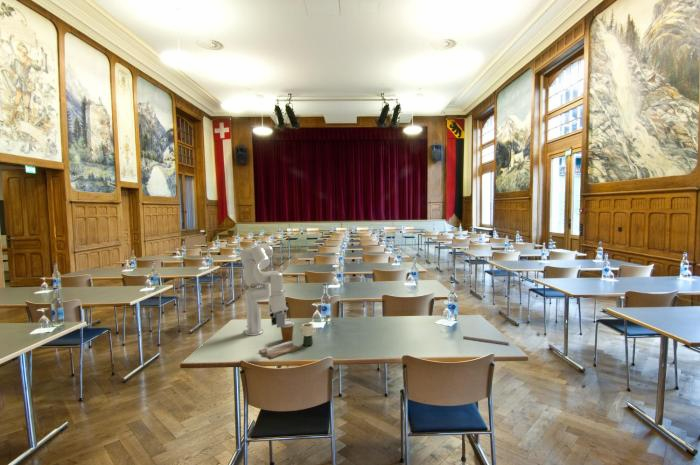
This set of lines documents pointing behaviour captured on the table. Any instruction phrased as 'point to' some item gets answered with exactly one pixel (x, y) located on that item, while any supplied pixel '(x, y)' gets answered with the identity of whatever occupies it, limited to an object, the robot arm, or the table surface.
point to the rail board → (281, 352)
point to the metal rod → (485, 340)
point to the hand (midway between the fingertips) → (278, 322)
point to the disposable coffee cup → (287, 330)
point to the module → (279, 319)
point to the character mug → (307, 333)
